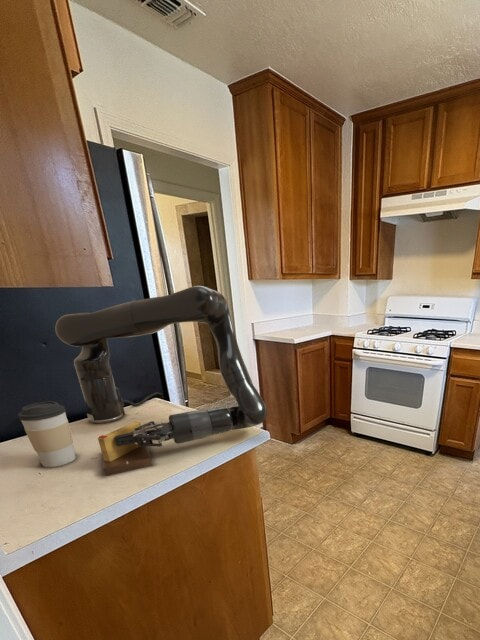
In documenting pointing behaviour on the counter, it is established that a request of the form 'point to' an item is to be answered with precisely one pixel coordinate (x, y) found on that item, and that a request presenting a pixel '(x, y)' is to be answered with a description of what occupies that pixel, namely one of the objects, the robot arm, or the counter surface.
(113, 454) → the wooden toy block
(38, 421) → the coffee cup
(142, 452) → the brown square board
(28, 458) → the counter surface
